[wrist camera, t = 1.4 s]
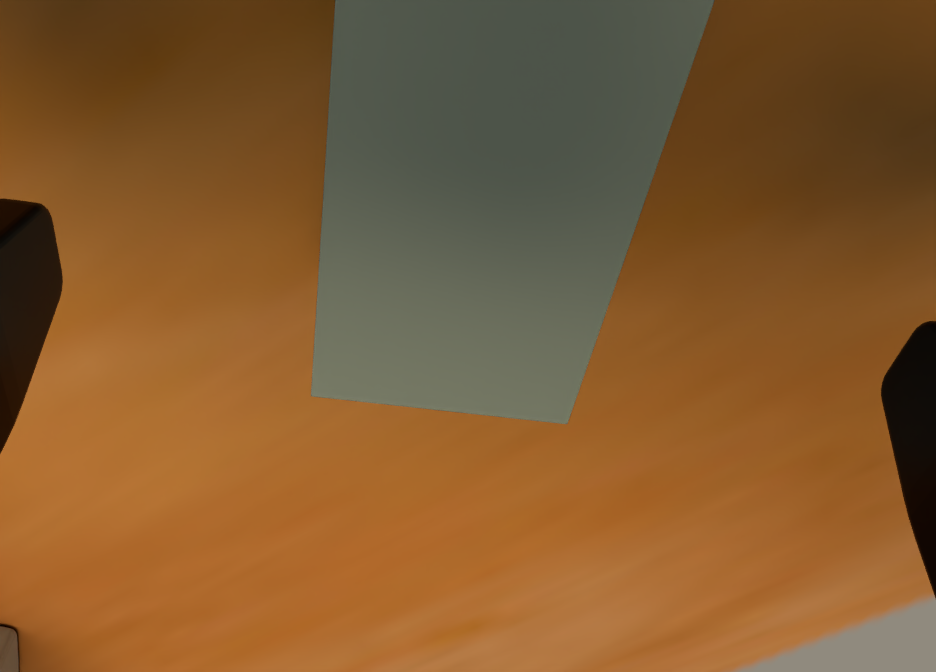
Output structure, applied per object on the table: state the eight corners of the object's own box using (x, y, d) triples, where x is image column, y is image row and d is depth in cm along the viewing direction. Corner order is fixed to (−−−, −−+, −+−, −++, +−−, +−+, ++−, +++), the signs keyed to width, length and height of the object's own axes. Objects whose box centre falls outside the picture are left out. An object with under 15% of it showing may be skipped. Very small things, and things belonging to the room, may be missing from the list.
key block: (688, -203, 11) (766, -149, 8) (548, 290, 16) (567, 424, 13) (376, -265, 10) (349, -230, 8) (336, 263, 15) (311, 395, 13)
